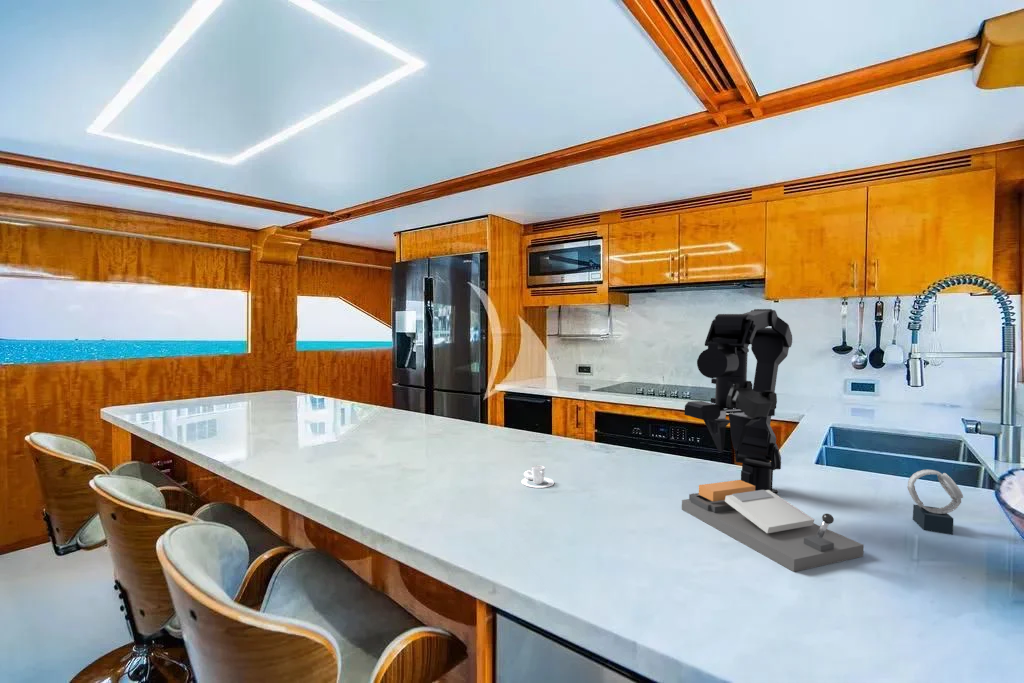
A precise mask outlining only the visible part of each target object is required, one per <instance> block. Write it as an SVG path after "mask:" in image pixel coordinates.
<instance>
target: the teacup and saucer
mask: <svg viewBox="0 0 1024 683" xmlns="http://www.w3.org/2000/svg"><path fill="white" fill-rule="evenodd" d="M545 470H546V467H545V466H543V465H538V464H537V465H532V466H531V470H530V469H528V470H526V471H524V472H523V476H524V478H523V479H521V482H520V483H521V484H522V485H523V486H526V487H528V488H534V489H535V488H536V489H542V488H543V489H545V488H549V487H552V486H553V485H554V484H555V481H554V480H553V479H552V478H550V477H545V474H546V472H545ZM529 481H532V482H533V483H534V484H537V485H533V484H532V485H531V484H529V483H528V482H529ZM544 481H546V482H547V483H548V484H545V485H541V484H543V483H544ZM538 485H539V486H538Z"/></svg>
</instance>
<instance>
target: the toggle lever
mask: <svg viewBox="0 0 1024 683" xmlns="http://www.w3.org/2000/svg"><path fill="white" fill-rule="evenodd" d="M821 519H822V522H821V525H819V526H820V528H819V530H818V533H817V536H818V537H819V538H822V537H823V536H824V534H825V532H826V530H827V529H828V527H829V525H831V524H833V523H834V521H835V520H834V519H835V518H834V516H833V515H832V514H830V513H824V514H822V517H821Z"/></svg>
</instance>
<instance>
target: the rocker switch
mask: <svg viewBox="0 0 1024 683" xmlns="http://www.w3.org/2000/svg"><path fill="white" fill-rule="evenodd" d="M725 502H726V503H728V504H729V505H730V506H732V507H733V508H734V509H736V510H737V511H738V512H740V513H741V514H742V515H744V516H745V517H746V518H747V519H749V520H750V521H751V522H753V523H754V524H755V525H757V526H758V527H759V528H761V529H762V530H763V531H765V532H766V533H773V532H778V531H784V530H789V529H795V528H800V527H806V526H812V525H813V523H814V524H815V518H813V517H811V515H808V514H807V513H805V512H803V511H802V510H801V509H800V508H798V507H796V506H794V505H793V504H791V503H790V502H788V501H787V500H785V499H784V498H782V497H780V496H779V495H778V494H777V493H773V492H771V491H770V490H758V491H750V492H743V493H736V494H732V495H728V496H726V497H725Z"/></svg>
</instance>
